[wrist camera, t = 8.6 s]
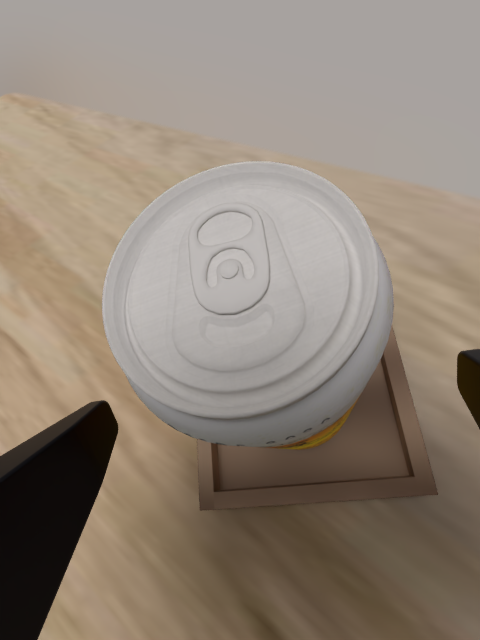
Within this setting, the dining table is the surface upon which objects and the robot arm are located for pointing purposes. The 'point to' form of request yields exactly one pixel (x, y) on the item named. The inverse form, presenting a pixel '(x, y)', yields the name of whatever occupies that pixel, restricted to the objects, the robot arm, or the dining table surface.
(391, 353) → the tray
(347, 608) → the dining table surface
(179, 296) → the beer can
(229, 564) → the dining table surface
